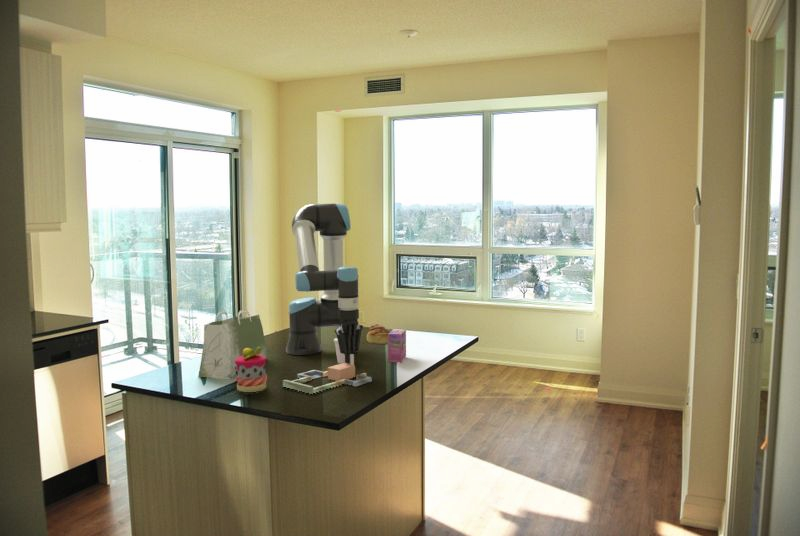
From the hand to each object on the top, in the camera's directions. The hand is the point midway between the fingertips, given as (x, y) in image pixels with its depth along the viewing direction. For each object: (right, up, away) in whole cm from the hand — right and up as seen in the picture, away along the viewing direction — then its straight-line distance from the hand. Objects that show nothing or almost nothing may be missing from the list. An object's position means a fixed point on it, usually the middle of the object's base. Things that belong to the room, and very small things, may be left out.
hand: (350, 371), depth 228 cm
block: (-3, -2, -4) cm, 5 cm away
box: (+18, +1, +24) cm, 29 cm away
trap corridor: (-7, -2, -9) cm, 12 cm away
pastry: (+9, +4, +62) cm, 63 cm away
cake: (-33, -4, -16) cm, 37 cm away
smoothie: (-5, 0, +20) cm, 21 cm away
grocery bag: (-47, -1, +14) cm, 49 cm away
